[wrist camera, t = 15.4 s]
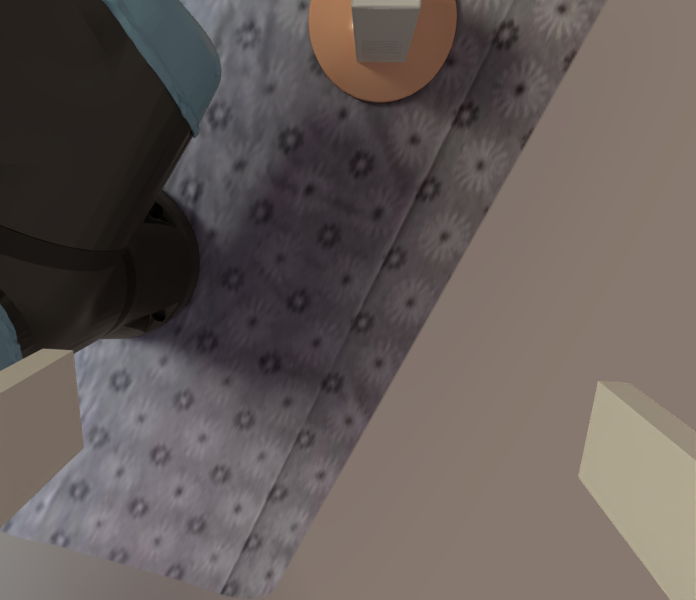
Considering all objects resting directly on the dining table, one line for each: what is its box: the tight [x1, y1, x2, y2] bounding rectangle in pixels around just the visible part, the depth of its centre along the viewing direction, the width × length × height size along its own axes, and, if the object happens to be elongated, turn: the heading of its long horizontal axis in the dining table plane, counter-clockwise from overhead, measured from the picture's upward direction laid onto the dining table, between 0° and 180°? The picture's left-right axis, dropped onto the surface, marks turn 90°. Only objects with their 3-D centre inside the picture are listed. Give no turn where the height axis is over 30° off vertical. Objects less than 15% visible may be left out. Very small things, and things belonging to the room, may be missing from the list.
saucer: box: [309, 0, 457, 103], centre depth 37 cm, size 12×12×1 cm
